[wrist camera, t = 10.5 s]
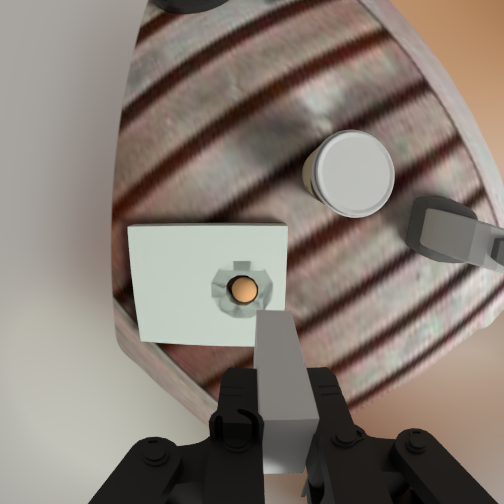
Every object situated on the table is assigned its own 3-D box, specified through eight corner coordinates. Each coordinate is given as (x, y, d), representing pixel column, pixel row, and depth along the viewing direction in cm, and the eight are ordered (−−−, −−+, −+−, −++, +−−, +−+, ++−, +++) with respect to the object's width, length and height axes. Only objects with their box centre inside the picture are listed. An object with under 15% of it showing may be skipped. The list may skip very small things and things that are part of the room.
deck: (145, 333, 45) (141, 340, 43) (134, 224, 41) (127, 226, 39) (280, 337, 45) (282, 346, 43) (285, 223, 41) (287, 226, 39)
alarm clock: (393, 251, 42) (463, 291, 25) (406, 186, 40) (485, 195, 22) (463, 264, 43) (532, 299, 25) (475, 209, 41) (550, 226, 23)
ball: (226, 278, 41) (245, 287, 39) (244, 270, 43) (262, 278, 41) (227, 300, 42) (245, 309, 40) (243, 291, 45) (261, 300, 43)
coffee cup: (286, 193, 40) (300, 198, 29) (308, 132, 38) (331, 114, 27) (346, 217, 41) (379, 231, 29) (367, 158, 39) (407, 152, 27)
